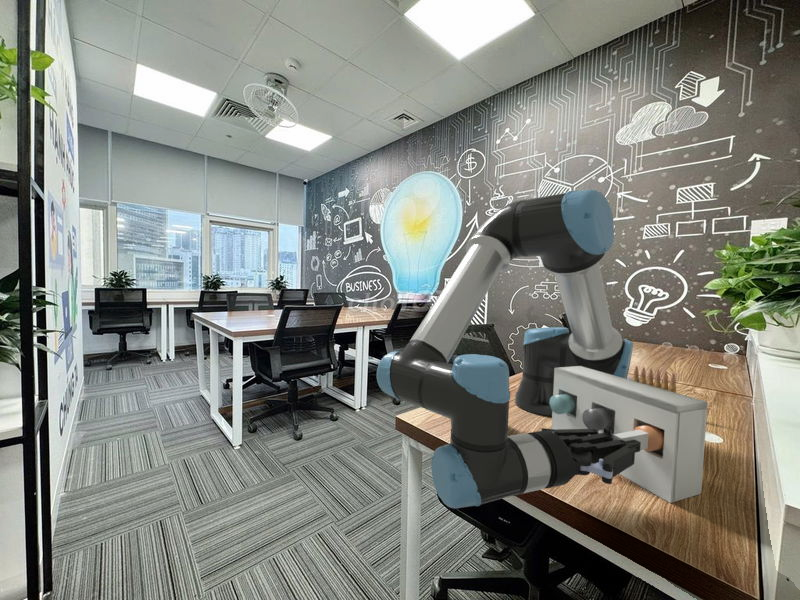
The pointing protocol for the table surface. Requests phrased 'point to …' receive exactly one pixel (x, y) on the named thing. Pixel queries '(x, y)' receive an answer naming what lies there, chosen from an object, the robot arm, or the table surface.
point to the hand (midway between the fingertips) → (643, 439)
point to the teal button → (562, 404)
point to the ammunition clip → (657, 379)
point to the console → (637, 406)
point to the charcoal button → (597, 419)
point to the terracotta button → (653, 436)
